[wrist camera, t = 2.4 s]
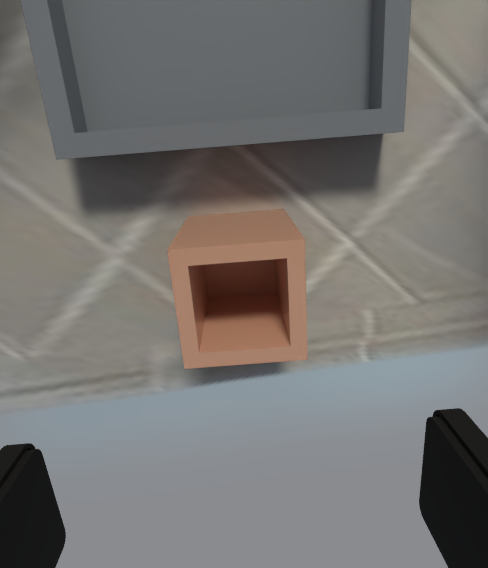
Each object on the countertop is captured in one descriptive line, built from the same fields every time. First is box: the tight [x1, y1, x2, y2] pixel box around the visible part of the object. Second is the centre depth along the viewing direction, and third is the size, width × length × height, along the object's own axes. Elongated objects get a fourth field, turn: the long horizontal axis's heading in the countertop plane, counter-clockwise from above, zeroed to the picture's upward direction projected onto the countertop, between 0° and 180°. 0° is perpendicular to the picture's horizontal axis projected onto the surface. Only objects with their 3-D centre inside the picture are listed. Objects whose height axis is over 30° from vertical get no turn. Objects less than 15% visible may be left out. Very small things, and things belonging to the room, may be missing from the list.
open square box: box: [167, 209, 308, 369], centre depth 22 cm, size 6×6×8 cm
